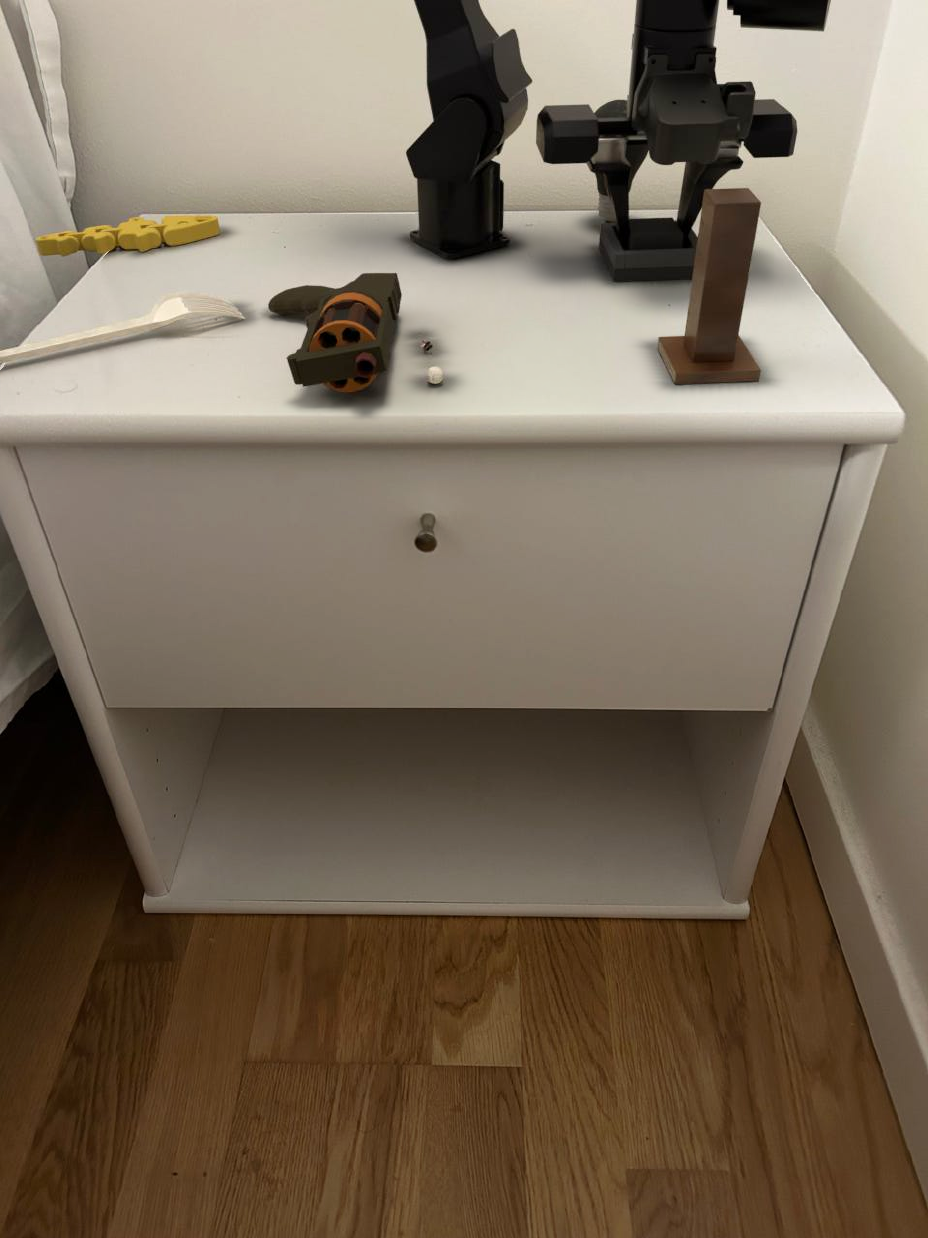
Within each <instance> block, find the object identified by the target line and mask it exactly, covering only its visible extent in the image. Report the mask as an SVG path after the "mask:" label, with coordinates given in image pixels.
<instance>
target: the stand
mask: <svg viewBox="0 0 928 1238" xmlns="http://www.w3.org/2000/svg"><path fill="white" fill-rule="evenodd" d="M761 206H762V201H760V199H759V198H758V197H757V196H756V195H755V194H754V193H753V191H752V190H751V189H750V188H749V187H737V188H735V187H733V188H713V189H705V190H704V196H703V203H702V208H701V210H700V218H699V226H698V232H697V233H698V234H697V237H698V240H697V247H696V255H695V262H694V269H693V277H692V279H691V285H690V292H689V298H688V299H689V300H688V305H687V306H688V307H687V315H686V322H685V328H684V329H685V330H684V335H674V336H673V335H671V336H658V338H657V346H656V348H657V350H658V352H659V353H660V356H661V359H662V360H663V362H664V364H665V366H666V369H667V371H668V373H669V376H670V377H671V379H672V381H673V383H674V384H675V385H687V384H710V383H711V384H713V383H738V382H759V381H760V376H761V372H762V369H761V368H760V366H759V365H758V363H757V362H756V360H755V358H754V356H753V355H752V354H751V352H750V350H749V348H748V347H747V346H746V344H745V343H744V341H743V340H742V338H741V336H740V327H741V322H742V317H743V311H744V306H745V299H746V294H747V289H748V281H749V276H750V270H751V264H752V257H753V253H754V248H755V241H756V236H757V235H756V234H757V229H758V224H759V218H760V211H761Z"/></svg>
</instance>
